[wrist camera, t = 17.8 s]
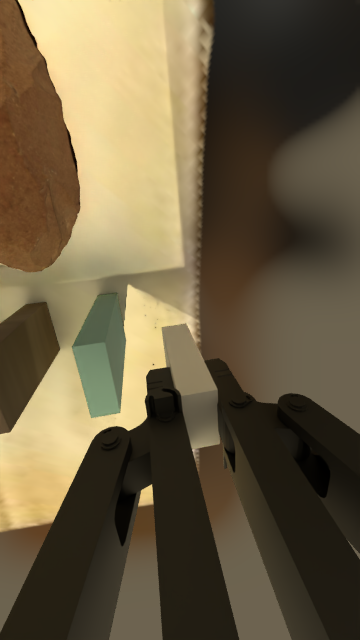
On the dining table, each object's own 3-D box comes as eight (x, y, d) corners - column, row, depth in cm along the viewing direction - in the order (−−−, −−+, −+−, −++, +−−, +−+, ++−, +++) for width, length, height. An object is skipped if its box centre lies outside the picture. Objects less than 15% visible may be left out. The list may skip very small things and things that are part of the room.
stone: (55, 269, 25) (75, 279, 22) (-72, 250, 19) (-70, 261, 15) (85, 49, 21) (114, 24, 18) (-63, -66, 15) (-57, -134, 12)
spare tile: (107, 342, 27) (91, 418, 16) (98, 295, 25) (72, 347, 15) (125, 340, 27) (120, 412, 17) (117, 292, 25) (104, 342, 15)
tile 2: (41, 352, 26) (-22, 437, 16) (25, 304, 24) (-57, 365, 14) (60, 349, 26) (10, 432, 16) (46, 301, 24) (-21, 360, 14)
